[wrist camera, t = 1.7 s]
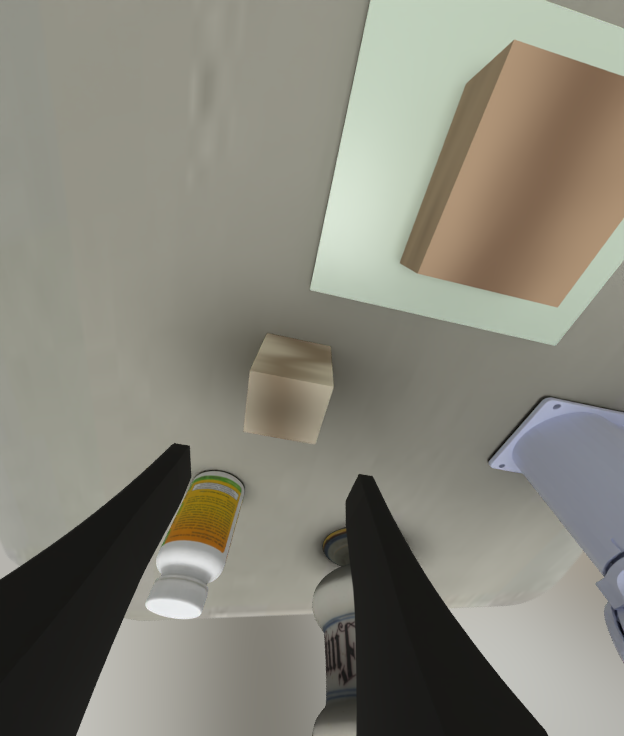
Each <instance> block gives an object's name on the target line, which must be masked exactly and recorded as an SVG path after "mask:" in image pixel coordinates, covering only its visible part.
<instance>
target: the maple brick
mask: <svg viewBox="0 0 624 736" xmlns="http://www.w3.org/2000/svg"><path fill="white" fill-rule="evenodd" d="M333 388H334V384H333V370H332V357H331V346H327V345H322V344H317V343H312V342H308V341H303V340H298V339H293V338H288V337H284V336H279V335H274V334H269V333H267V334H266V336H265V339H264V341H263V343H262V345H261V347H260V349H259V352H258V354H257V356H256V358H255V360H254V362H253V365H252V367H251V369H250V373H249V383H248V392H247V402H246V411H245V421H244V431H243V432H247V433H253V434H259V435H264V436H270V437H276V438H282V439H287V440H293V441H299V442H304V443H310V444H316V441H317V438H318V435H319V432H320V428H321V425H322V422H323V419H324V416H325V413H326V410H327V407H328V403H329V400H330V397H331V394H332V391H333Z"/></svg>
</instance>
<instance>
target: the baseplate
mask: <svg viewBox="0 0 624 736" xmlns="http://www.w3.org/2000/svg"><path fill="white" fill-rule="evenodd" d="M513 40H517V41H520V42H523V43H526V44H529V45H532V46H535V47H538V48H541V49H544V50H547V51H550V52H553V53H556V54H559V55H562V56H565V57H568V58H571V59H574V60H577V61H580V62H583V63H586V64H589V65H592V66H595V67H598V68H601V69H604V70H606V71H609V72H612V73H615V74H618V75H621V76H624V28H621V27H619V26H616V25H613V24H610V23H607V22H604V21H602V20H599V19H596V18H593V17H590V16H588V15H585V14H582V13H579V12H576V11H574V10H571V9H568V8H565V7H562V6H559V5H557V4H554V3H551V2H548V1H545V0H370V3H369V8H368V13H367V18H366V22H365V27H364V32H363V37H362V42H361V46H360V51H359V56H358V61H357V65H356V70H355V75H354V80H353V85H352V89H351V94H350V99H349V104H348V109H347V113H346V118H345V123H344V128H343V133H342V137H341V142H340V147H339V152H338V156H337V161H336V166H335V171H334V176H333V180H332V185H331V190H330V195H329V200H328V204H327V209H326V214H325V219H324V224H323V228H322V233H321V238H320V243H319V247H318V252H317V257H316V262H315V267H314V271H313V276H312V281H311V286H310V290H312V291H317V292H321V293H325V294H330V295H334V296H339V297H343V298H347V299H352V300H356V301H360V302H365V303H369V304H374V305H378V306H382V307H387V308H391V309H396V310H400V311H404V312H409V313H413V314H418V315H422V316H426V317H431V318H435V319H440V320H444V321H448V322H453V323H457V324H462V325H466V326H470V327H475V328H479V329H483V330H488V331H492V332H497V333H501V334H505V335H510V336H514V337H519V338H523V339H527V340H532V341H536V342H541V343H545V344H549V345H554V346H556V344H557V343H558V342H559V341H560V339H561V338H562V337H563V336H564V334H565V333H566V332H567V331H568V329H569V328H570V327H571V326H572V324H573V323H574V322H575V321H576V319H577V318H578V317H579V316H580V314H581V313H582V312H583V311H584V309H585V308H586V307H587V306H588V304H589V303H590V302H591V301H592V299H593V298H594V297H595V296H596V294H597V293H598V292H599V290H600V289H601V288H602V287H603V285H604V284H605V283H606V282H607V280H608V279H609V278H610V277H611V275H612V274H613V273H614V272H615V270H616V269H617V268H618V267H619V265H620V264H621V263H622V262H623V260H624V218H623V220H622V221H621V222H620V224H619V225H618V227H617V228H616V229H615V231H614V232H613V233H612V235H611V236H610V237H609V239H608V240H607V241H606V243H605V244H604V246H603V247H602V248H601V250H600V251H599V252H598V254H597V255H596V256H595V258H594V259H593V260H592V262H591V263H590V265H589V266H588V267H587V269H586V270H585V271H584V273H583V274H582V275H581V277H580V278H579V279H578V281H577V282H576V283H575V285H574V286H573V288H572V289H571V290H570V292H569V293H568V294H567V296H566V297H565V298H564V300H563V301H562V302H561V304H560V305H559V307H558V308H557V307H553V306H549V305H545V304H541V303H537V302H532V301H528V300H524V299H520V298H516V297H512V296H508V295H504V294H499V293H495V292H491V291H487V290H483V289H479V288H475V287H471V286H466V285H462V284H458V283H454V282H450V281H446V280H442V279H437V278H433V277H429V276H425V275H421V274H417V273H416V272H414V271H412V270H410V269H409V268H407V267H405V266H404V265H402V264H400V260H401V258H402V255H403V252H404V250H405V247H406V244H407V242H408V239H409V236H410V233H411V231H412V228H413V225H414V223H415V220H416V217H417V215H418V212H419V209H420V207H421V204H422V201H423V198H424V196H425V193H426V190H427V188H428V185H429V182H430V180H431V177H432V174H433V171H434V169H435V166H436V163H437V161H438V158H439V155H440V153H441V150H442V147H443V144H444V142H445V139H446V136H447V134H448V131H449V128H450V126H451V123H452V120H453V118H454V115H455V112H456V109H457V107H458V104H459V101H460V99H461V96H462V93H463V91H464V88H465V85H466V83H467V82H468V81H469V80H471V79H472V78H473V77H474V76H475V75H476V74H477V73H478V72H479V71H480V70H481V69H483V68H484V67H485V66H486V65H487V64H488V63H489V62H490V61H491V60H492V59H494V58H495V57H496V56H497V55H498V54H499V53H500V52H501V51H502V50H503V49H505V48H506V47H507V46H508V45H509V44H510V43H511V42H512V41H513Z"/></svg>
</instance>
